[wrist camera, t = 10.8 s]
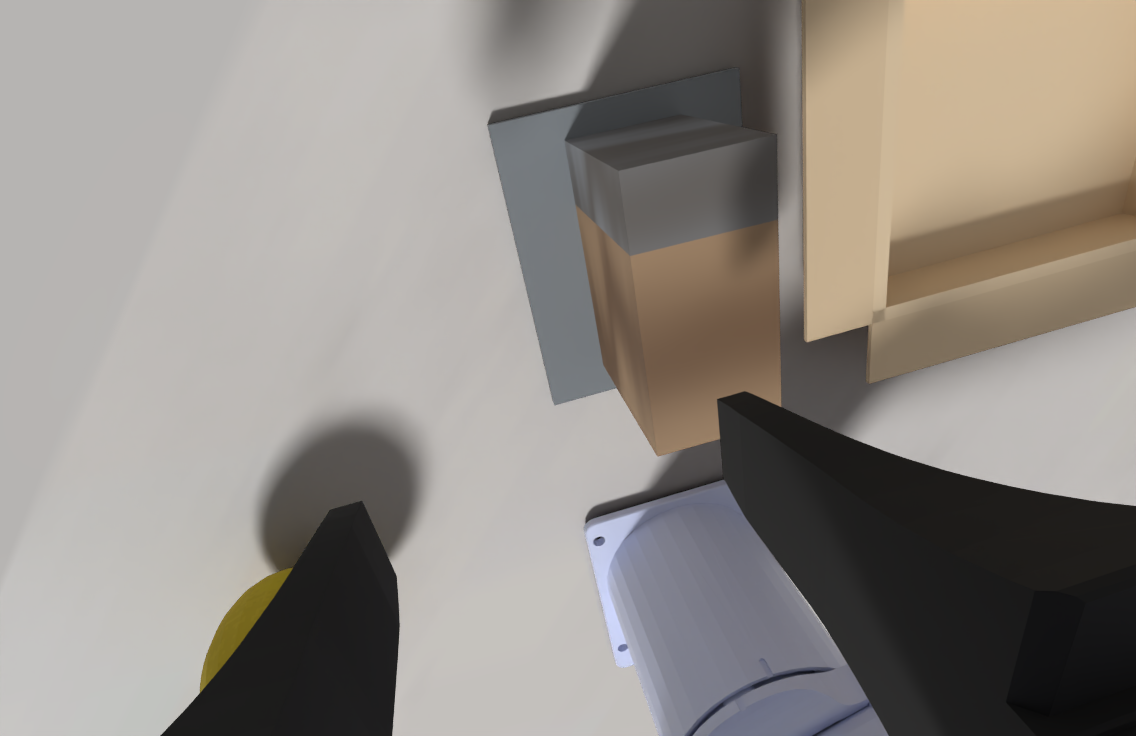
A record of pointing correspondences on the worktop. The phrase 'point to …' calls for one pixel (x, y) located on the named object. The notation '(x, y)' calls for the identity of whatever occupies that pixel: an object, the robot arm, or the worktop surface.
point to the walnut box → (682, 268)
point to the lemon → (240, 623)
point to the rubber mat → (550, 216)
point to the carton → (966, 172)
